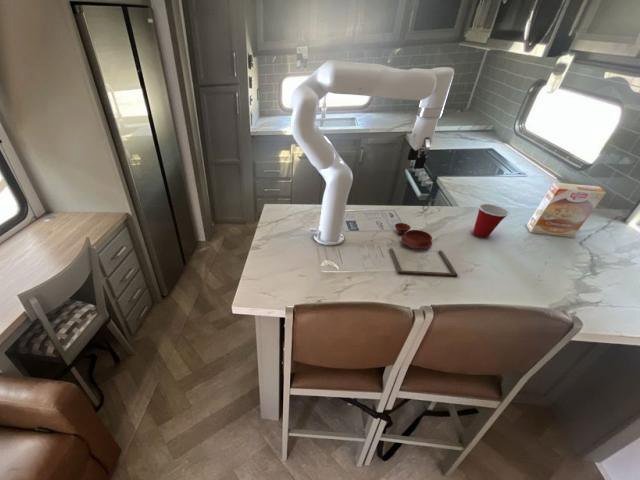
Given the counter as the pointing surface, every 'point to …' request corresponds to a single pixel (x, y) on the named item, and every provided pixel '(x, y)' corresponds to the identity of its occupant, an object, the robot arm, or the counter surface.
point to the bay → (452, 274)
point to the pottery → (414, 237)
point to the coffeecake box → (565, 209)
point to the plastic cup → (488, 219)
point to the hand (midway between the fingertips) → (414, 164)
